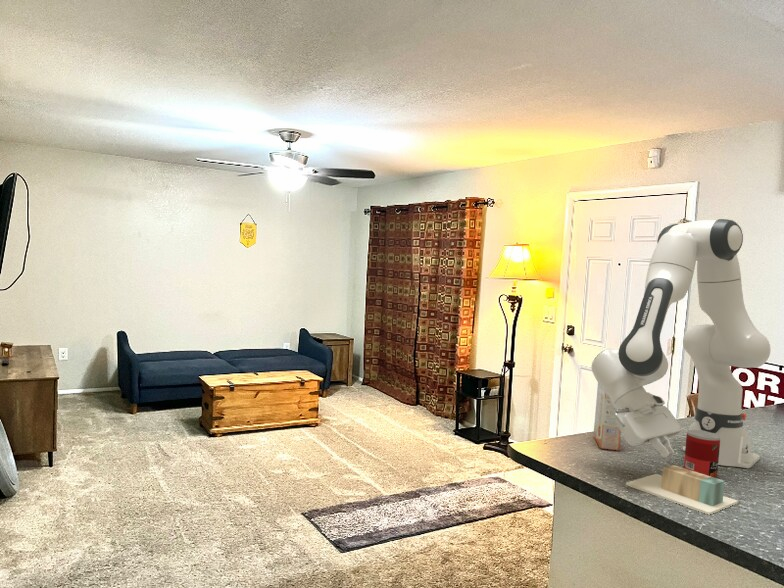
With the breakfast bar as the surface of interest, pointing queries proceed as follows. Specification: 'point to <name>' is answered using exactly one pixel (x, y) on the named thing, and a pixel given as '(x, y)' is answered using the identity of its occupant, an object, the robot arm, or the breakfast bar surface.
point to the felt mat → (677, 495)
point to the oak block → (693, 485)
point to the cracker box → (606, 423)
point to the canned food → (702, 452)
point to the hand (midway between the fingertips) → (669, 455)
